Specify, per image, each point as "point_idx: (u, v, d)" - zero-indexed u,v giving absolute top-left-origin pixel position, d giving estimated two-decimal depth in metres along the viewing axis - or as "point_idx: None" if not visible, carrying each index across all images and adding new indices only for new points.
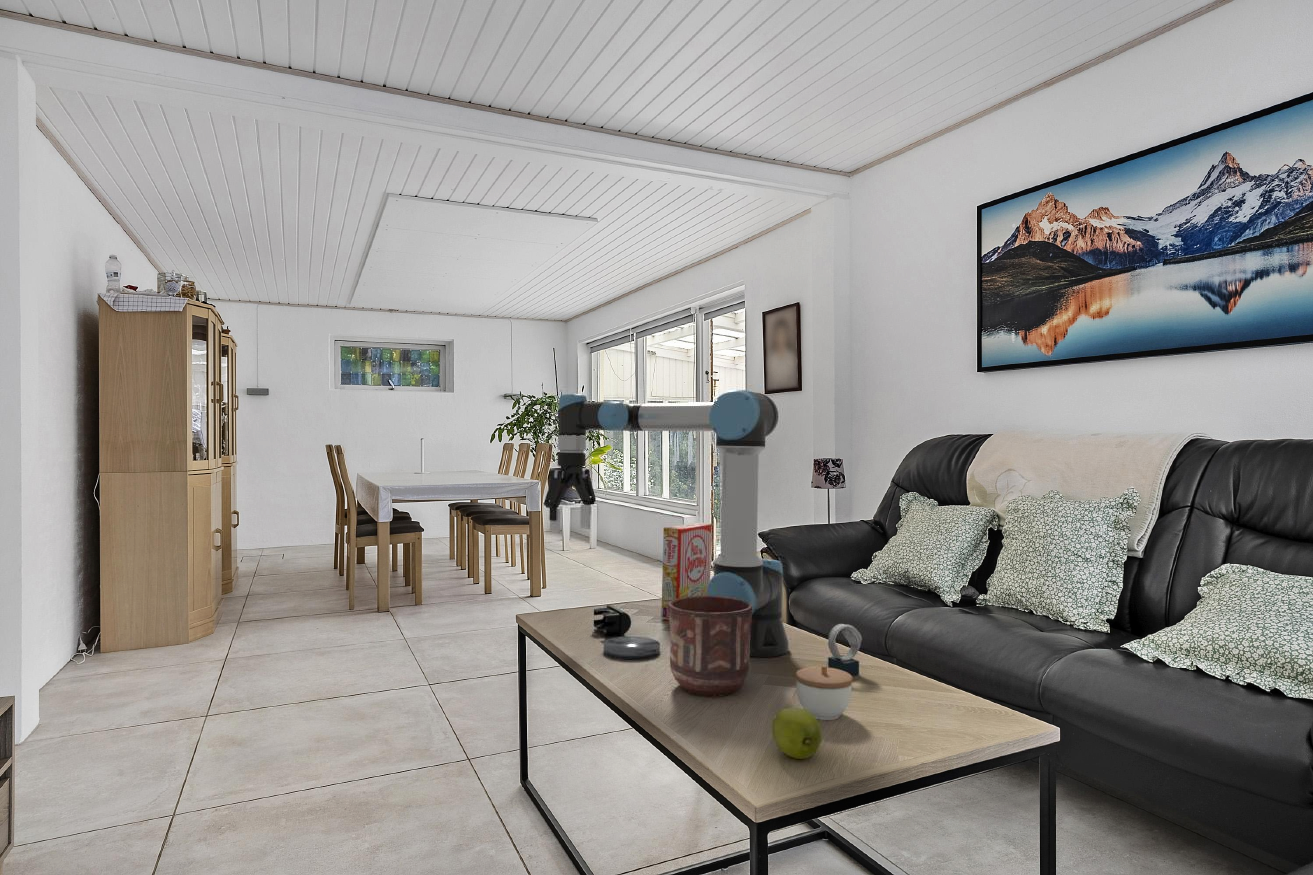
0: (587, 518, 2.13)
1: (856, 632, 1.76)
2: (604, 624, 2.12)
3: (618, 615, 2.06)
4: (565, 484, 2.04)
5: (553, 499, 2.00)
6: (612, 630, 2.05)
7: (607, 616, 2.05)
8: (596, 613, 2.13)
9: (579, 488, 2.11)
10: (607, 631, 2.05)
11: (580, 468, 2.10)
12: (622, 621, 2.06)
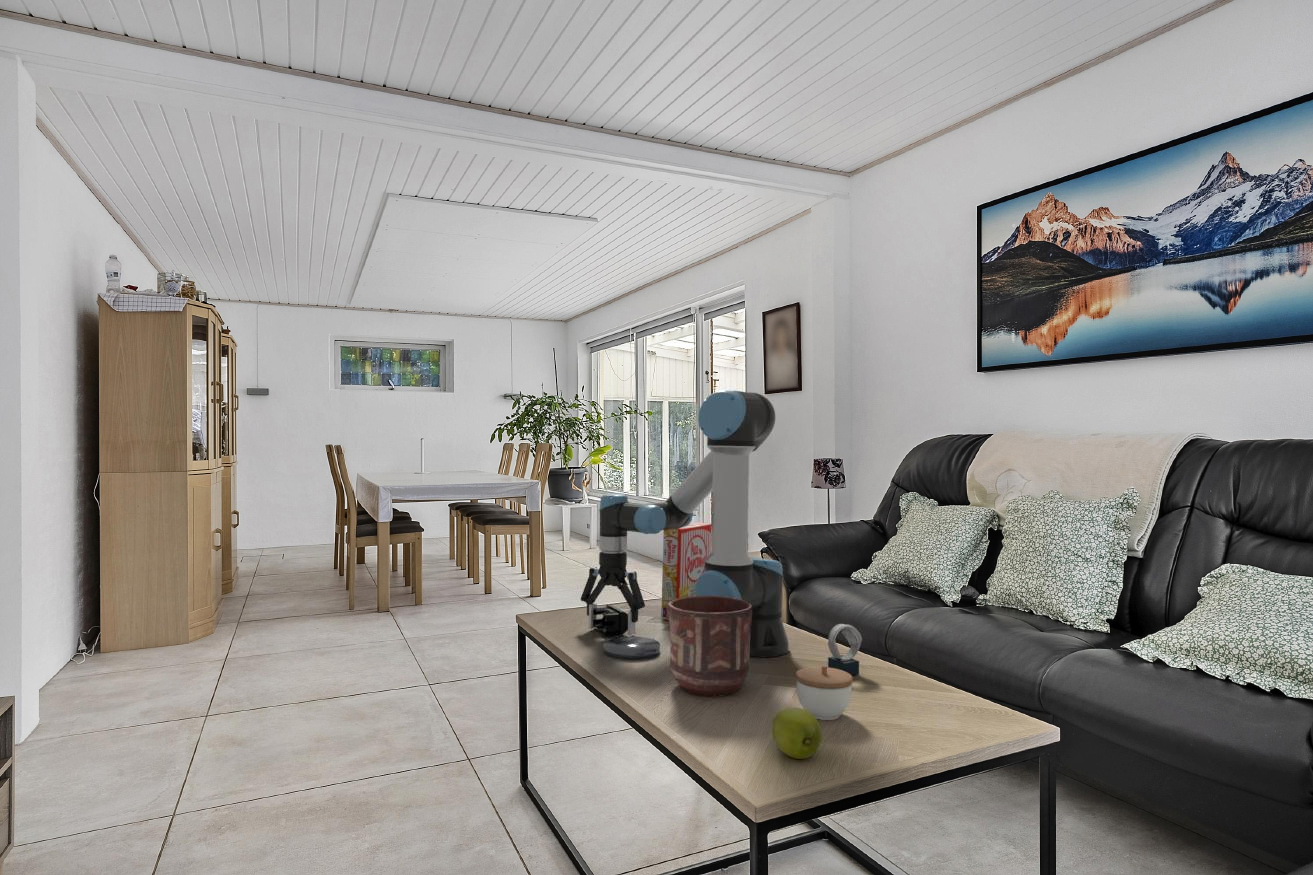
0: None
1: (856, 632, 1.76)
2: (604, 624, 2.12)
3: (618, 615, 2.06)
4: None
5: (582, 595, 2.13)
6: (612, 630, 2.05)
7: (607, 616, 2.05)
8: (596, 613, 2.13)
9: None
10: (607, 631, 2.05)
11: (619, 569, 2.08)
12: (622, 621, 2.06)
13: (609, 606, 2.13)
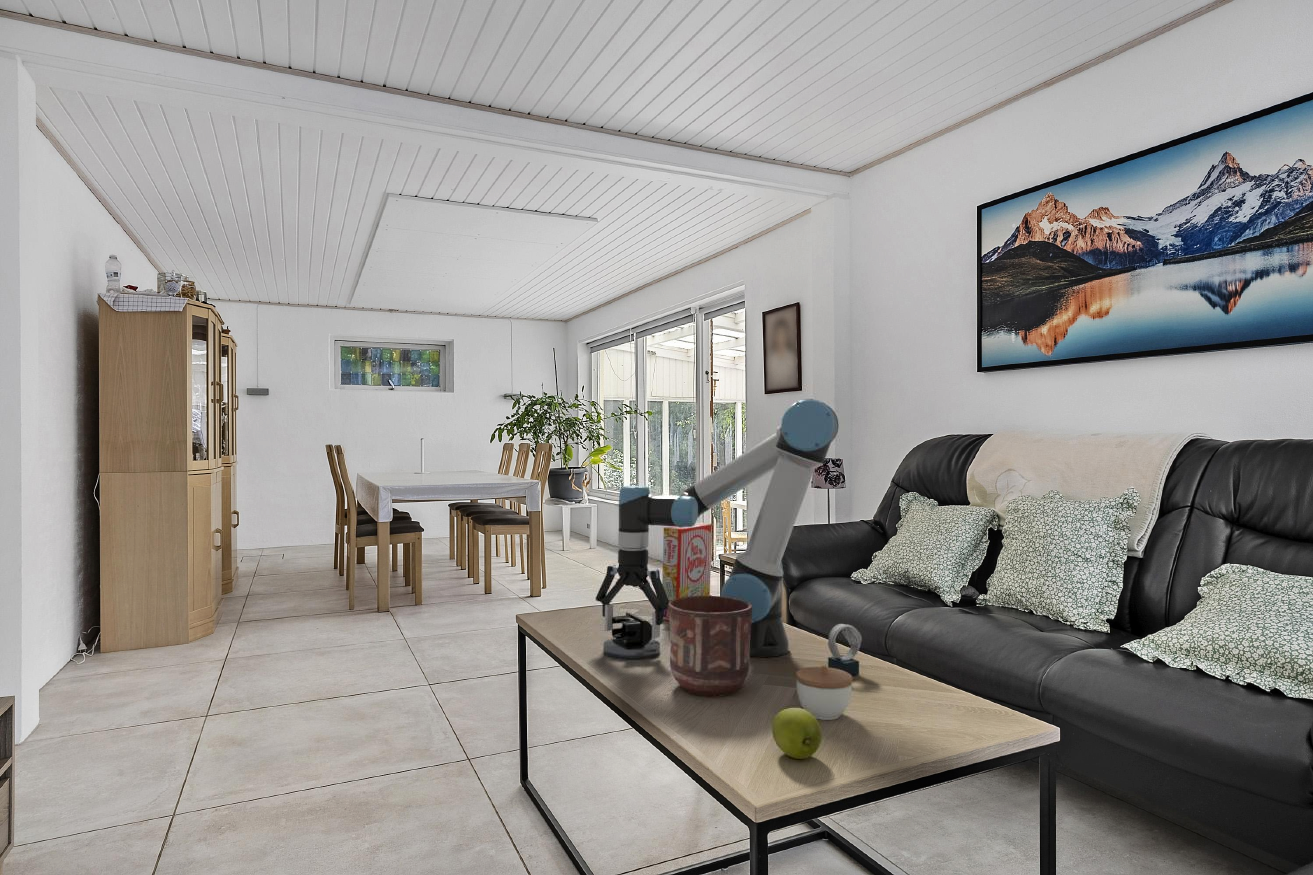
0: None
1: (856, 632, 1.76)
2: (623, 633, 1.94)
3: (639, 624, 1.88)
4: None
5: (598, 594, 1.95)
6: (633, 640, 1.87)
7: (627, 625, 1.87)
8: (614, 621, 1.94)
9: None
10: (627, 641, 1.87)
11: (640, 568, 1.90)
12: (644, 630, 1.88)
13: (629, 614, 1.95)
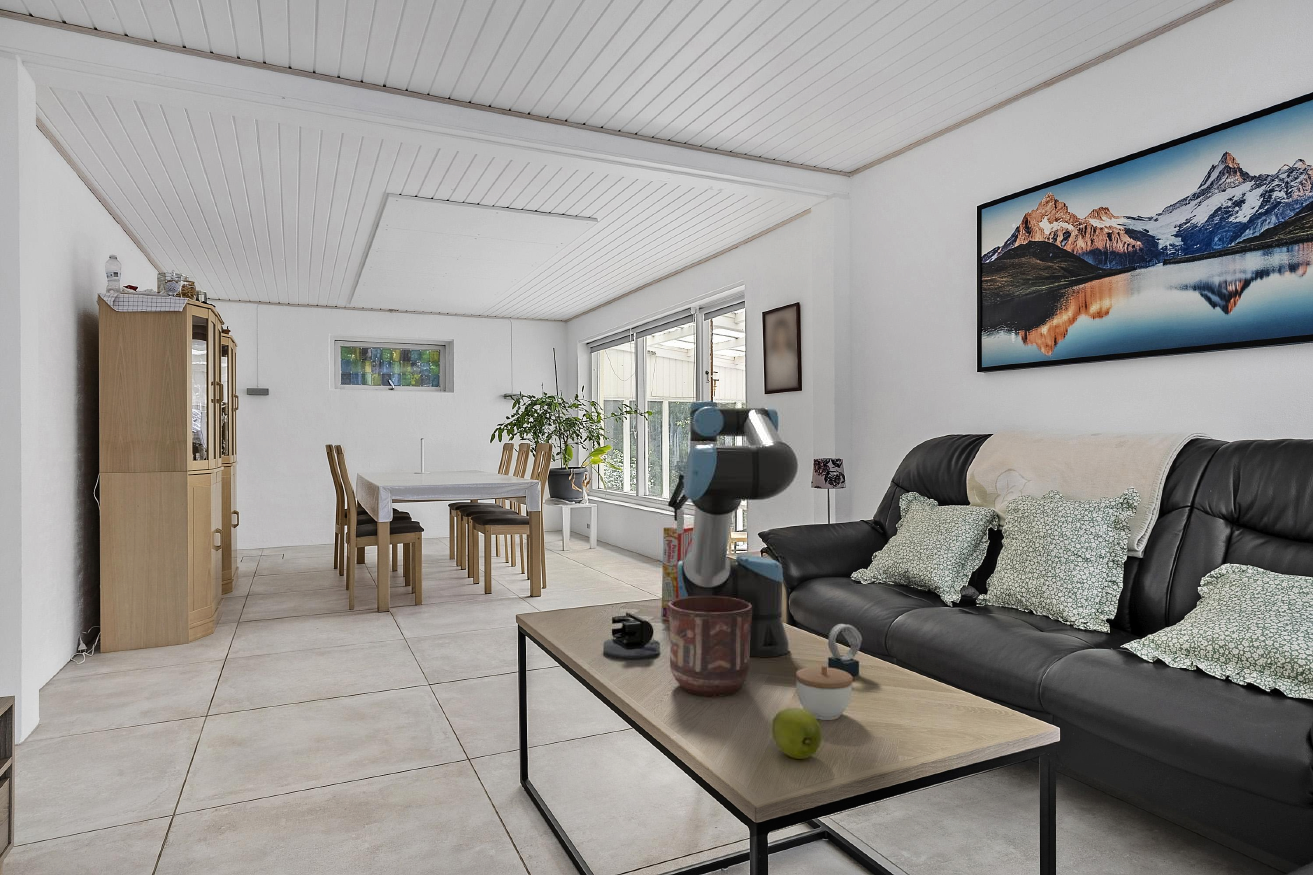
0: None
1: (856, 632, 1.76)
2: (623, 633, 1.94)
3: (639, 624, 1.88)
4: None
5: (670, 500, 2.16)
6: (633, 640, 1.87)
7: (627, 625, 1.87)
8: (615, 621, 1.94)
9: None
10: (627, 641, 1.87)
11: None
12: (644, 630, 1.88)
13: (629, 614, 1.95)
